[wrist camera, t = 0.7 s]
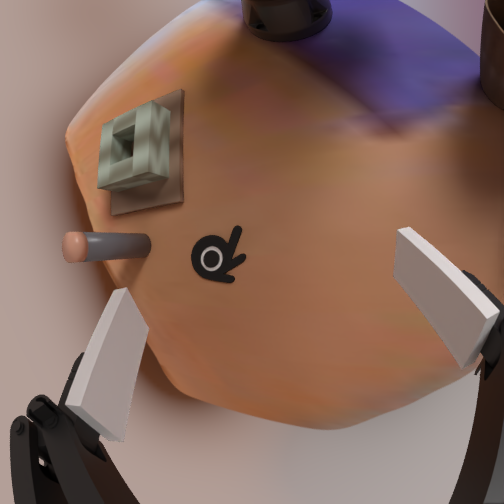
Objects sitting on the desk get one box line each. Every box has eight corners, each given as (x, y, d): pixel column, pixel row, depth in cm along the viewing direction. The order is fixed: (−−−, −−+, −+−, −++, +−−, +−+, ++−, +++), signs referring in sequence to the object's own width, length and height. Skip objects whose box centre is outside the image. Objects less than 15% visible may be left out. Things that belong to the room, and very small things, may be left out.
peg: (133, 234, 45) (61, 233, 31) (150, 232, 43) (75, 230, 29) (135, 258, 45) (62, 263, 31) (151, 256, 43) (77, 262, 29)
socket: (119, 119, 46) (98, 110, 41) (184, 91, 41) (163, 76, 35) (115, 215, 46) (90, 213, 41) (183, 201, 41) (158, 196, 35)
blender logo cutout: (236, 216, 38) (233, 215, 38) (262, 264, 37) (260, 265, 36) (187, 249, 41) (184, 249, 41) (210, 295, 40) (207, 296, 39)
